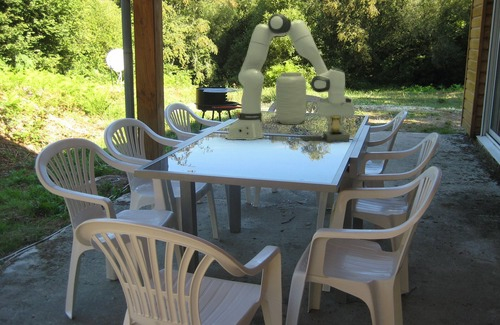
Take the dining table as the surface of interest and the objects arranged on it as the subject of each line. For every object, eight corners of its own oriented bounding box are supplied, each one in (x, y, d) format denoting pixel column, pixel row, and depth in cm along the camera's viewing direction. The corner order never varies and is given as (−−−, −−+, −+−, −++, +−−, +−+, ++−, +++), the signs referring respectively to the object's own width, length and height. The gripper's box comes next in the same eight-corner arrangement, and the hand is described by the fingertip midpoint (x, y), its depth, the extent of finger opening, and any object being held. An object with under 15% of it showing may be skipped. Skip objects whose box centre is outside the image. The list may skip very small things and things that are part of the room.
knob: (330, 136, 270) (331, 116, 268) (328, 134, 276) (329, 114, 273) (341, 136, 270) (342, 115, 268) (339, 134, 276) (339, 114, 274)
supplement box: (342, 135, 289) (343, 109, 286) (327, 134, 291) (327, 109, 288) (343, 132, 298) (343, 107, 294) (328, 132, 300) (328, 107, 296)
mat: (303, 140, 273) (303, 140, 273) (300, 137, 285) (300, 136, 285) (325, 140, 274) (325, 139, 274) (321, 136, 285) (321, 135, 285)
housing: (327, 142, 268) (327, 135, 267) (323, 138, 280) (323, 131, 279) (349, 142, 268) (349, 134, 267) (344, 138, 280) (344, 131, 279)
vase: (297, 126, 324) (298, 74, 316) (270, 124, 334) (270, 73, 327) (310, 122, 341) (311, 72, 333) (284, 120, 351) (284, 71, 343)
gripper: (318, 99, 265) (317, 125, 268) (356, 99, 266) (355, 125, 269) (316, 98, 271) (315, 123, 274) (353, 98, 272) (352, 123, 275)
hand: (335, 124), depth 272 cm, fingers closed on knob, 5 cm apart
